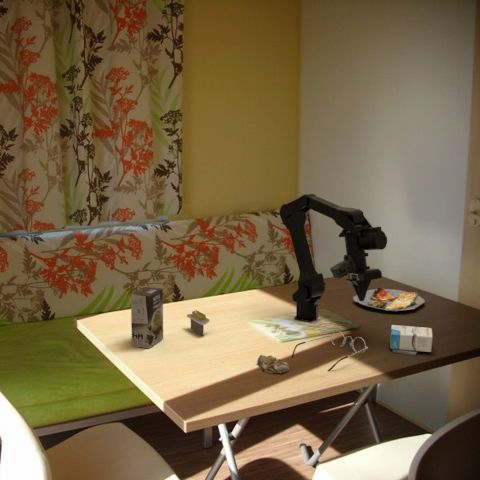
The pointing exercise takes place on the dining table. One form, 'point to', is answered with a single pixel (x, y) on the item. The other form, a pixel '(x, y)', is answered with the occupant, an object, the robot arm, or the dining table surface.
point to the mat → (405, 351)
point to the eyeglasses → (339, 346)
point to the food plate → (391, 299)
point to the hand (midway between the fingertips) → (361, 300)
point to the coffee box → (147, 317)
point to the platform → (198, 321)
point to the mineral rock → (272, 364)
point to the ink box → (411, 338)
